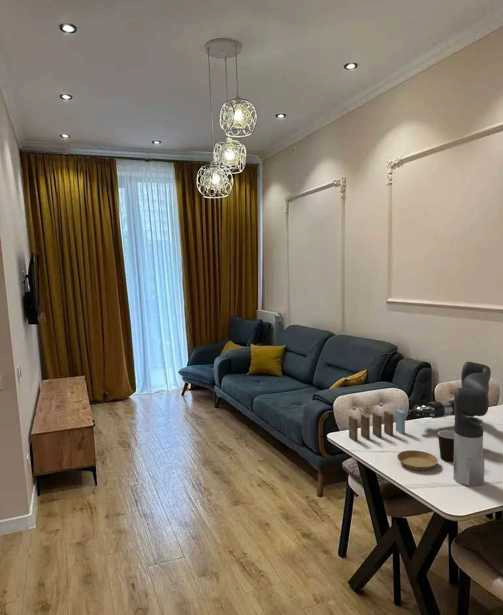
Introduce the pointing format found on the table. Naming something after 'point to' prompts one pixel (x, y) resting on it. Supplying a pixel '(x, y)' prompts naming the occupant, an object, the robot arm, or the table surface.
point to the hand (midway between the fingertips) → (409, 412)
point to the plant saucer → (417, 460)
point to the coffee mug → (446, 445)
